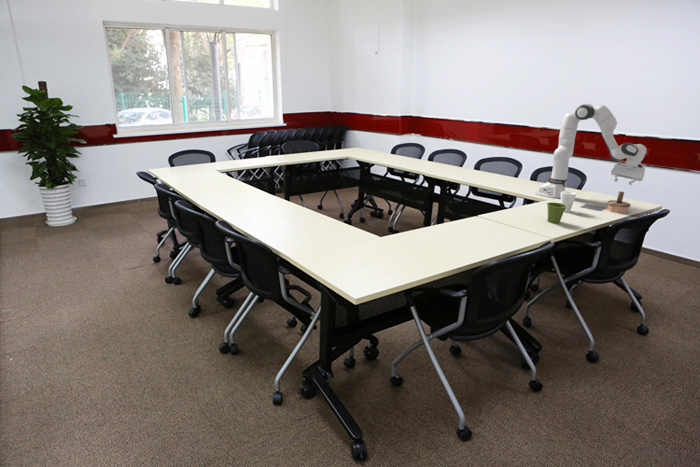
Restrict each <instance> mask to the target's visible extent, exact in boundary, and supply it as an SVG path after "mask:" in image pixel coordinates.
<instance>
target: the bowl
mask: <svg viewBox="0 0 700 467" xmlns="http://www.w3.org/2000/svg"><path fill="white" fill-rule="evenodd" d="M629 209H630V207H617V206H612V205H609V204H608V203H607V207H606V210H607V211H609V212H610V213H615V214H628V212H629Z"/></svg>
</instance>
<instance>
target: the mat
mask: <svg viewBox="0 0 700 467" xmlns="http://www.w3.org/2000/svg"><path fill="white" fill-rule="evenodd" d="M580 208H582V209H587V210H592V211H596V212H602V211H605V210H607V207H605V206H599V205H594V204H588V203H586V204H583V205H580Z"/></svg>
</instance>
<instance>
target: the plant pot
mask: <svg viewBox="0 0 700 467" xmlns="http://www.w3.org/2000/svg"><path fill="white" fill-rule="evenodd" d="M546 205H547V222H548V223H549V222H550V223H552V224H559V223H560V222H561V219H562V217H563V214H564V213H565V212H564V211H565V209H566V207H567V205H564V204H561V203H559V202H554V201H553V202H547V203H546Z"/></svg>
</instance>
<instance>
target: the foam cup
mask: <svg viewBox="0 0 700 467" xmlns="http://www.w3.org/2000/svg"><path fill="white" fill-rule="evenodd" d="M576 197H577V193H576V192H575V191H568V190H565V191H562V192H561V198H560V201H559V202H560V203H561V204H564V205H567V207H566V209H565V211H564V213H570V212H571V209H572V208H573V204H574V202H575V199H576Z"/></svg>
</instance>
